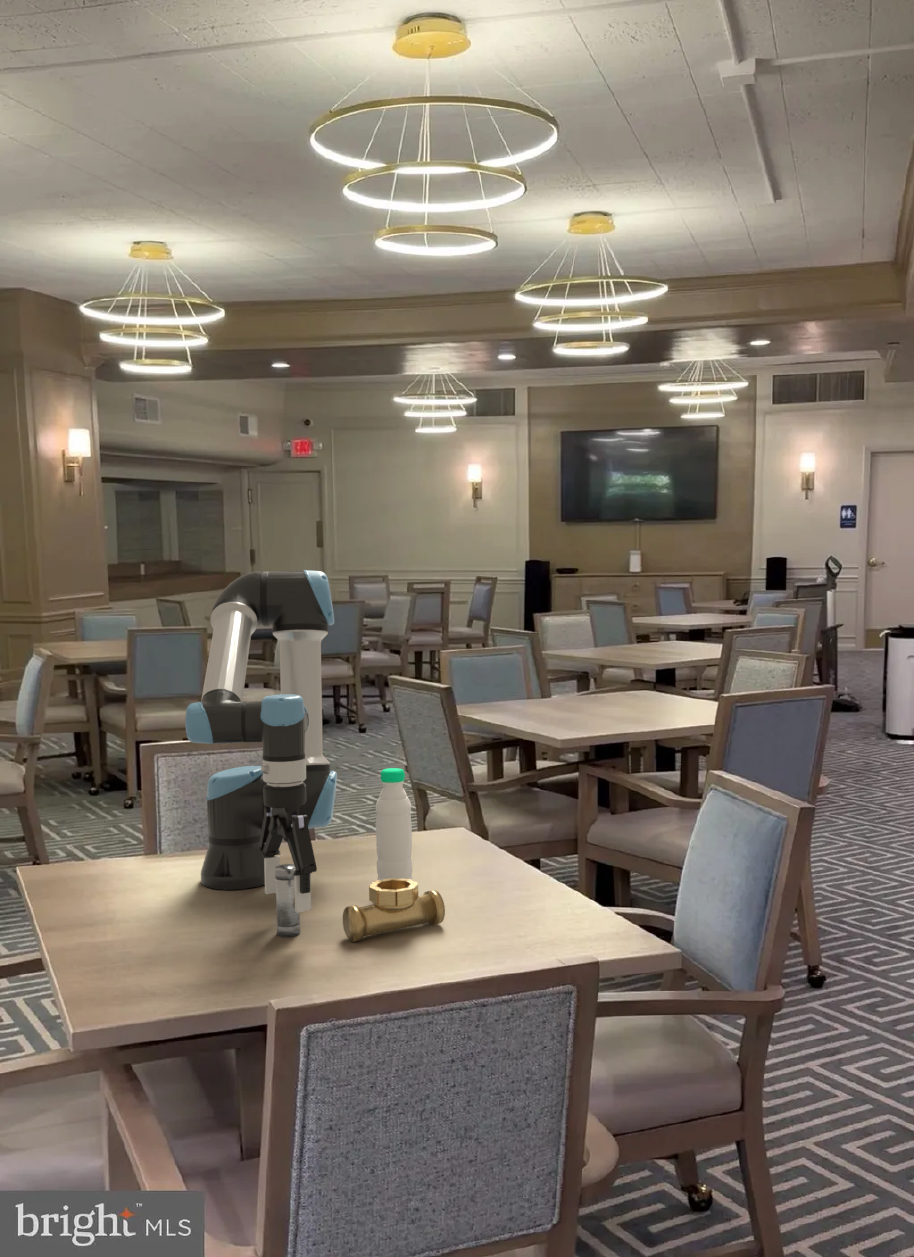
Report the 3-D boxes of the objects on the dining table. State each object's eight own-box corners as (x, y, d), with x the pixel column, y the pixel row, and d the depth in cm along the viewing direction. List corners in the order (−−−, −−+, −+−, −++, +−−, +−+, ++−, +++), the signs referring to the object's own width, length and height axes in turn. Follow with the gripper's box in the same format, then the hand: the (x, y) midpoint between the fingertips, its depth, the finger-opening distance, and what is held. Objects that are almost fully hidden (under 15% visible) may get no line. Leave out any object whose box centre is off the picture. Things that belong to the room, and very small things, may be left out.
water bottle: (408, 900, 220) (405, 773, 219) (373, 899, 222) (370, 772, 220) (416, 890, 227) (414, 766, 226) (382, 888, 229) (380, 765, 227)
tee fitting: (361, 947, 194) (360, 898, 193) (340, 934, 201) (339, 887, 200) (448, 929, 203) (447, 882, 202) (425, 917, 210) (424, 871, 209)
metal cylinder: (273, 932, 203) (271, 866, 202) (294, 928, 205) (292, 862, 204) (282, 939, 199) (280, 871, 198) (303, 934, 201) (302, 867, 201)
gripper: (238, 775, 209) (241, 889, 210) (293, 796, 188) (296, 922, 189) (276, 770, 213) (279, 882, 214) (334, 791, 192) (337, 915, 193)
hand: (287, 901), depth 201 cm, fingers open, 13 cm apart
